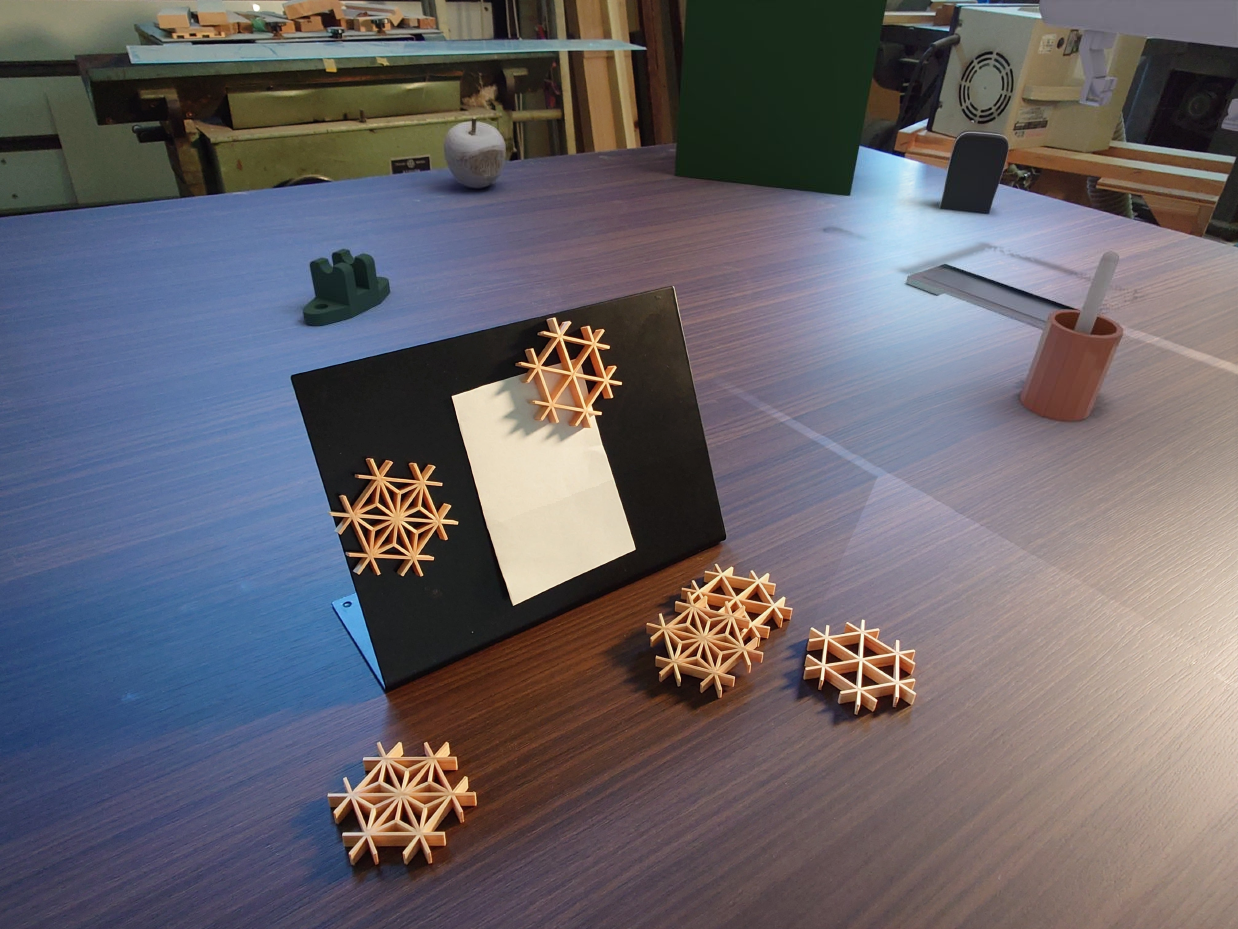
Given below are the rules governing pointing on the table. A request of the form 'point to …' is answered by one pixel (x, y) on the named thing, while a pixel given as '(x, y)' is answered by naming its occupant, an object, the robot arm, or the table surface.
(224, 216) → the table surface
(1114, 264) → the stylus
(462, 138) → the decorative object
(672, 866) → the table surface
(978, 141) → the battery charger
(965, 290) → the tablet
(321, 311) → the mount
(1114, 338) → the pen cup
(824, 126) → the binder
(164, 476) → the table surface
